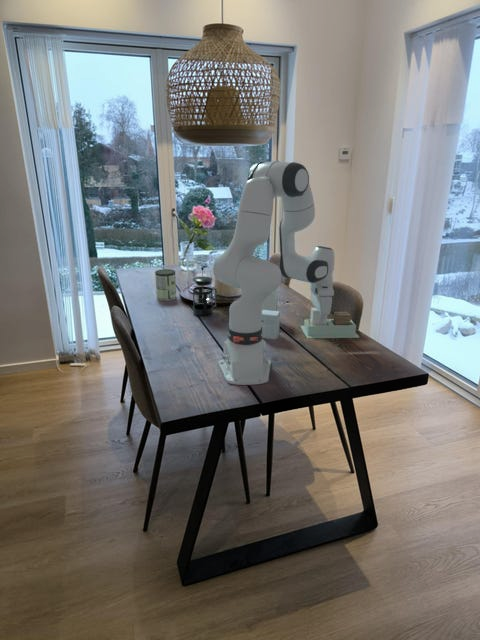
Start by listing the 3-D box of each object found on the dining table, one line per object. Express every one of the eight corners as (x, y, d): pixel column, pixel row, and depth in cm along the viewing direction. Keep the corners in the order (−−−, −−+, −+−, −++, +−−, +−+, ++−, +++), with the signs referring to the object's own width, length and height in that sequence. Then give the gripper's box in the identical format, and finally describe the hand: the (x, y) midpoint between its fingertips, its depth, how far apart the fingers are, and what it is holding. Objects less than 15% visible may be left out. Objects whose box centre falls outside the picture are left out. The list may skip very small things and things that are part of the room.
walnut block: (349, 332, 183) (351, 315, 180) (335, 333, 183) (336, 315, 180) (346, 329, 187) (348, 311, 184) (332, 329, 187) (334, 311, 184)
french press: (194, 317, 201) (193, 268, 193) (189, 311, 209) (188, 264, 201) (218, 315, 204) (218, 267, 196) (213, 309, 213) (213, 262, 205)
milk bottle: (275, 324, 194) (277, 281, 187) (258, 323, 195) (259, 279, 189) (277, 318, 201) (279, 276, 194) (260, 317, 203) (262, 275, 196)
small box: (279, 334, 183) (280, 311, 179) (276, 339, 178) (277, 315, 174) (260, 332, 185) (261, 309, 181) (257, 337, 180) (258, 313, 176)
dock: (359, 339, 179) (361, 327, 177) (306, 340, 178) (307, 328, 176) (349, 327, 192) (350, 315, 190) (300, 327, 191) (300, 316, 189)
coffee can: (160, 294, 234) (158, 268, 229) (178, 295, 233) (177, 269, 228) (153, 300, 225) (152, 273, 220) (173, 301, 223) (172, 274, 218)
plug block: (325, 333, 183) (327, 310, 179) (311, 333, 182) (313, 310, 179) (323, 329, 186) (325, 307, 183) (309, 329, 186) (311, 307, 182)
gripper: (308, 279, 187) (305, 309, 192) (319, 293, 168) (316, 326, 173) (322, 279, 187) (320, 309, 192) (335, 293, 168) (332, 326, 173)
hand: (318, 317), depth 182 cm, fingers open, 8 cm apart
